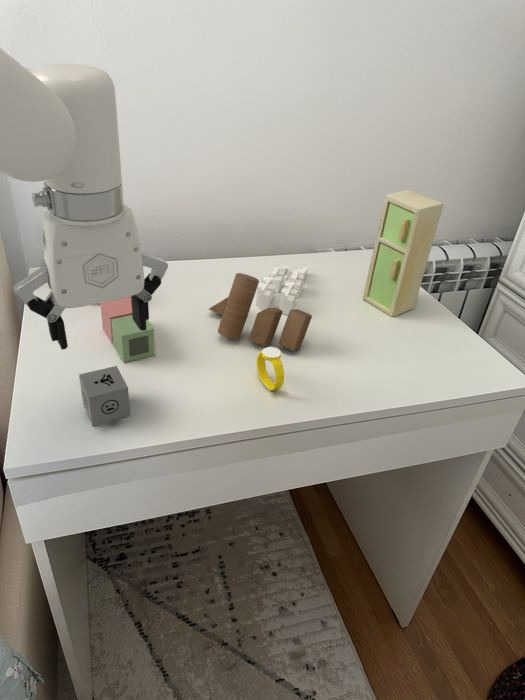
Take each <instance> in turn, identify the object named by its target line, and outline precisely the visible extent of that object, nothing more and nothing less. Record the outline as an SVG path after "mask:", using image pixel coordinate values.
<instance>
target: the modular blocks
mask: <svg viewBox="0 0 525 700" xmlns="http://www.w3.org/2000/svg"><path fill="white" fill-rule="evenodd" d="M288 269H289V266H288V265H282V267H281V266H273V267H272V269H271V270H270V272H269V274H268V276H266V275H265V276H264V277H263V279H262V281H261V282H259V283H258V286H257V289H256V300H255V306H257V307H258V309H259V310H262V311H263V310H265V309H267V308H271V305H272V307H274V306H275V305H274V304H273V302H274V300H275V294H279V292H280V294H279V296H278V298H279V304H278V309H280V310H282V311H283V312H282V315H285V316H288V314H289V312H290V310H293V309H295V307H296V304H297V299H299V298H300V296H301V292H302V290H303V288H304V283H305V282H304V281H305V280H306V277H307V275H308V269H309V268H308V266H304V265H303V266H301V268H299V267H296V270H292V272H291V275H290V276H289V281H288V275H286V273H287V272H288Z"/></svg>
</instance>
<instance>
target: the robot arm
mask: <svg viewBox="0 0 525 700" xmlns="http://www.w3.org/2000/svg"><path fill="white" fill-rule="evenodd" d="M117 109H118V108H117V96H116V87H115V84H114V81H113V78H112V77H111V76H110V74H109V73H108V72H106V71H105V70H104V69H101V68H100V67H96V66H93V65H87V64H78V63H51V64H45V65H42V66H39V67H24V65H22V64H21V63H19V61H17V60H16V59H15V58H14V57H13V56H11V54H9V53H8V52H6V51H5V50H4V49H3V48H1V47H0V172H1V173H3V175H6V176H8V177H10V178H12V179H14V180H18V181H22V182H28V183H29V182H30V183H37V182H43V187H42V190H39V192H32V193H31V198H32V199H31V200H32V203H33V206H34V207H35V208H38V207H42V208H46V209H45V211H44V212H43V220H42V221H43V224H42V243H43V257H44V258H43V259H44V265H42V266H41V267H39V268H38V269H36V270H35V271H33V272H32V273H30V274H29V275H27V276H25V277H24V278H22V279H21V280H20V281H18V282H17V283H15V284H14V285H13V290H14V293H15V295H16V296H17V297H18V299H20V301H22V302H23V303H24V304H25V305H26V306H27V308H29V310H30V311H32V312H33V313H35V314H37V315H39V316H41V317H43V318H45V319H46V321H47V326H48V331H49V332H48V333H49V337H50V339H51V341H52V342H56V341H57V342H58V345H59V347H60V349H61V350H62V351H63V350H67V349H68V348H69V345H68V339H67V334H66V328H65V327H66V326H65V322H64V319H63V317H62V314H63V312H64V311H65V309H76V308H81V307H82V308H83V307H86V306H92V305H96V304H100V303H102V302H107V301H112V300H117V299H122V298H126V297H131V303H132V317H133V320H134V322H135V323H136V325H137V326H138V328H139V329H140V330H142V331H144V330H146V320H148V321H149V320H150V310H149V302H151V301H152V298H153V296H152V295H153V294H154V293H156V291H157V290H158V289H159V288H160V286H161V285H162V280H163V278H164V276H165V275H166V273H167V270H168V268H169V264H168V263H167V261H166V260H165V259H164V258H163V257H159V256H155V255H152V254H149V253H146V252H143V251H142V250H141V245H140V238H139V233H138V228H137V224H136V219H135V217H134V213H133V210H132V209H131V208H130V207H129V206H127V205H126V204H125V203H124V191H123V188H124V187H123V177H122V175H123V174H122V163H121V149H120V137H119V136H120V135H119V134H120V133H119V122H118V121H119V120H118V110H117ZM144 267H145V268H148V269H151V270H150V272H149V273H148V274H147V276H146V277H145V272H144V271H145V270H144ZM45 284H47V285H48V288H49V289H50V290H51V291H50V292H49V293H48V295H47V296H46V298H45V299H42V298H40V297H39V296H37V295H35V294H34V292H35V291H36V290H37V289H39V288H40V287H43V286H44V285H45Z"/></svg>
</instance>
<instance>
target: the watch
mask: <svg viewBox="0 0 525 700" xmlns="http://www.w3.org/2000/svg"><path fill="white" fill-rule="evenodd" d="M281 357H282V351H281V350H280V349H279V348H278V347H274V346H267V347H264V348H263V349H262V350H260V351H259V353H258V354H257V356H256V371H257V375H258V377H259V380H260V381H261V383H263V385H264V386H265V387H266V388H267V389H268V391H270V392H271V391H275V390H278V389H281V388H283V386H284V382H285V371H284V365H283V362H282V360H281ZM266 361H268V362H270V363H271V365H272V366H273V372H274V377H275V378H274V381H272V379H271V378H270V377H269V374H268V371H267V367H266Z"/></svg>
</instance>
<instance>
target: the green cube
mask: <svg viewBox="0 0 525 700" xmlns="http://www.w3.org/2000/svg"><path fill="white" fill-rule="evenodd" d="M111 323H112V334H113V344H112V346H113V348H114V349H115V350H116V352H117V354H118V356H119V357H120V359H121V360H122V363H124V364H125V363H130V362H134V361H138V360H141V359H145V358H149V357H153V356H155V355H156V351H155V350H156V349H155V348H156V346H155V328H154V326H152V325H153V324H151V323H150V321H149V320H146V330H144V331H142V330H140V329H139V328H138V326H137V325H136V323H135V322H134V320H133V317H132V315H129V316H124V317H120V318H115V319H111Z"/></svg>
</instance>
